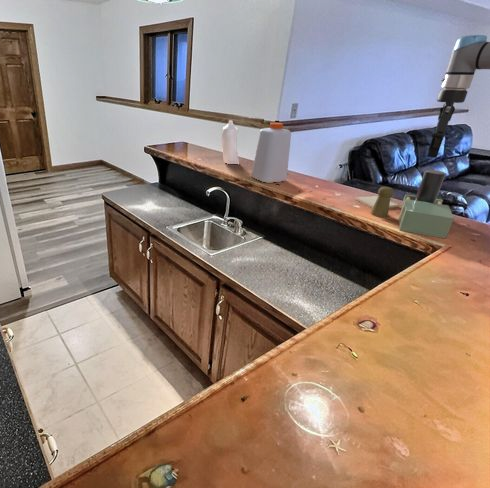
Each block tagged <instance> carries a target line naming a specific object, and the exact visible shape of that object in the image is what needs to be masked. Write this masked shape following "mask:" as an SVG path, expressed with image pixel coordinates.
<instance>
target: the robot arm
mask: <svg viewBox="0 0 490 488" xmlns="http://www.w3.org/2000/svg"><path fill="white" fill-rule="evenodd" d="M487 39H488V36H487V35H486V34H474V35H473V34H469V35H463V36H460V37H458V38H457V40H456V42H455V44H454V47H453V48H452V51H451V56H450V59H449V62H448V66H447V68H446V72H445V76H444V77H443V78H441V80H440V81H441V82H442V83H441V88H442V89H440V90H439V92H438V95H437V98H436V101H437V102H439V103H444V104H443V105H442V107H440V108H439V112H438V113H439V114H438V117H437V124H436V127H435V128H434V129H435V130H434V132H433V134H431V141H430V145H429V147H428V150H427V151H428V152H427V155H426V157H427V158H435V159H436V158H438V155H439V151H440V150H441V146H442V142H443V140H444V137H445V136H446V133H447V128H448V125H449V123H450V121H451V120H452V117H453V115H454V114H455V110H456V108H455V104H462V103H464V102H465V100H466V98H467V96H468V93H469V92H468V90H469V89H470V87H471V84H472V82H473V79H474V77H475V73H476V71H477V70H490V41H487Z"/></svg>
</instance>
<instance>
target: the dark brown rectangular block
mask: <svg viewBox="0 0 490 488" xmlns="http://www.w3.org/2000/svg"><path fill="white" fill-rule="evenodd" d="M446 175H447V174H446V172H445V171H441V170H436V169H425V170H424V172H423V174H422V178H421V180H420V183H419V186H418V189H417V192H416V194H415V196H416V198H415V200H416V201H422V202H429V203H435V201H436V199H438V196H439V194H440V190H441V188H442V185H443V182H444V180H445V178H446Z"/></svg>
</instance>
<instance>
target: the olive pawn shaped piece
mask: <svg viewBox="0 0 490 488" xmlns="http://www.w3.org/2000/svg"><path fill="white" fill-rule="evenodd" d="M377 194H378V195H377V196H378V198H377V200H376V202H375V204H374V206H373V208H372V209H371V211H370V214H371V215H372V216H375V217H379V218H387V217H389V211H390V208H389V205H390V201H391V199H392V197H393V195H394V194H395V190H394V189H393V188H392V187H389V186H380V188H378V191H377Z"/></svg>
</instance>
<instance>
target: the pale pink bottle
mask: <svg viewBox="0 0 490 488" xmlns="http://www.w3.org/2000/svg"><path fill="white" fill-rule="evenodd" d="M233 121H234V120H231V119H229V120H228V123H227V124H226V125H225V126H224V127H222V130H221V149H222V158H223V163H224V162H225V163H227V164H226V165H228V164H238V165H240V160H239V154H238V148H237V146H238V145H237V144H238V131H239V130H238V129H239V128H238V127H237V126H235V124H234V122H233ZM225 163H224V164H225Z"/></svg>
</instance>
